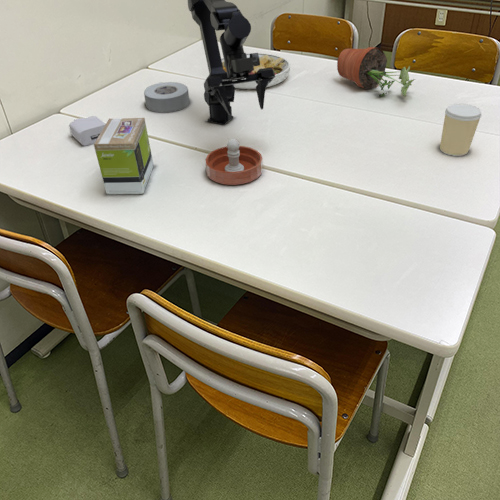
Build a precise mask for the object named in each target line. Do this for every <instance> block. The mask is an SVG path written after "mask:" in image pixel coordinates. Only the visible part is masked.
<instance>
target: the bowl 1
mask: <svg viewBox="0 0 500 500" xmlns="http://www.w3.org/2000/svg"><path fill="white" fill-rule="evenodd" d="M245 53H246V52H245ZM251 53H252V52H248V53H246V56H247V58H249V57H250V54H251ZM257 53H258V55H259V59H260V65H259V66H254V71H251V73H249V75H250V74H256V73H257V71H258V70H259V69H263V68H270V67H271V68H272V69H273V70H274V73H275V78H274V79H273V80H272V81H271V82H270V83H269V84H268V85H267V86H266V88H270V87H273V86H276V85H279V84H280V83H282V82H283V81H285V80H286V79H287V77H289V74H290V71H291V63H290V61H289V60H288V59H286V58H284V57H282V56H279V55H276V54H270V53H261V52H257ZM221 61H222V66H223V69H224V70H225V71H226V66H224V57H221ZM226 72H227V71H226ZM241 80H243V79H241ZM234 81H237V80H234ZM233 85H234V87H235V89H241V90H256V86H257V85H258V84H257V83H256V81H253V82H246V83H240V84H233Z"/></svg>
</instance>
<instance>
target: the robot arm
mask: <svg viewBox="0 0 500 500" xmlns="http://www.w3.org/2000/svg"><path fill="white" fill-rule="evenodd" d="M187 8H188V11H189V12H190V14H191V18H192V20H193V21H194V22H195V23H196V24H197V26H199V31H200V35H201V41H202V45H203V49H204V54H205V59H206V64H207V69H208V75H207V76H206V79H205V81H204V83H203V89H204V93H203V97H204V102H205V103H206V104H207V106H208V113H209V118H208V119H206V121H207V122H208V123H212V124H217V125H222V126H223V125H226V124H227V123H229V122H230V121H231V120H232V119H234V115H233V113H232V112H233V111H232V109H233V108H232V106H231V103H234V102H235V95H236V93H235V92H236V88H235V87H234V85H233V84H240V83H246V82H253V81H256V83H257V84H258V85H257V86H256V89H255V91H256V95H257V100H258V104H259V105H258V106H259V108H260V110H264V105H265V97H266V95H265V94H266V90H267V87H266V86H267V85H268V84H269V83H270V82H271V81H272V80H273V79H274V78H275V73H274V70H273V69H272V68H271V67H270V68H263V69H259V70H258V71H257V73H256V74H250V75H249V73H251V71H254V66H259V65H260V59H259V55H258V53H259V52H250V53H251V54H250V57H249V58H247V56H246V52H245V50H244V44H245V42H246V41H247V39H248V38H249V35H250V34H251V32H252V25H251V23H250V21H249V20H248V19H247V18H246V17H245V16H244V15H243V13H242V11H241V10H240V9H239V8H238V6H237V5H236V4H235V3H233V2H231V1H226V0H187ZM217 31H223V33H221V35H220V36H219V40H218V37H217ZM218 41H219V42H218ZM219 43H220V47H219ZM220 48H221V51H220ZM221 52H222V56H221ZM222 58H224V66H226V71H227V72H226V71H225V70H224V69H223V66H222V61H221V59H222ZM241 79H243V80H241ZM234 80H237V81H234Z"/></svg>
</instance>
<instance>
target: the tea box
mask: <svg viewBox="0 0 500 500" xmlns="http://www.w3.org/2000/svg"><path fill="white" fill-rule="evenodd" d="M93 147H94V151H95V154H96V158H97V163H98V167H99V170H100V174H101V178H102V182H103V186H104V189H105V193H106V195H142V194H143V195H144V193H145V191H146V187H147V184H148V182H149V179H150V176H151V174H152V171H153V169H154V165H155V164H154V159H153V155H152V150H151V143H150V139H149V134H148V129H147V124H146V119H145V117H128V118H127V117H124V118H122V117H121V118H108V119H107V121H106V123H105V126H104V128H103V130H102V131H101V133H100V135H99V136H98V138H97V140H96V142H95V143H93Z"/></svg>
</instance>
